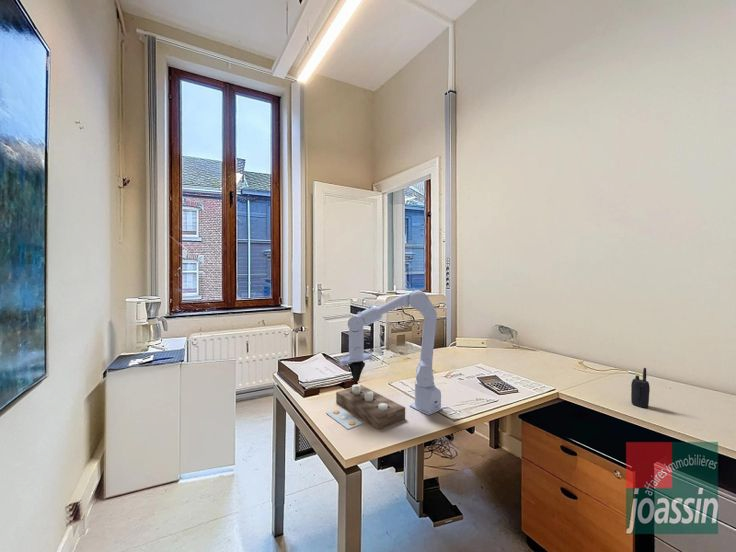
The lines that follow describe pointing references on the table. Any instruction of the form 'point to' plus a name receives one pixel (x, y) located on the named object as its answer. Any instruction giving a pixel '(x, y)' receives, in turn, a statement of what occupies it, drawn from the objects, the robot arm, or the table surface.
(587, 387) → the table surface
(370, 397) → the middle button
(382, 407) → the button
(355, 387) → the button
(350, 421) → the pattern card
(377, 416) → the button box
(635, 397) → the two-way radio
